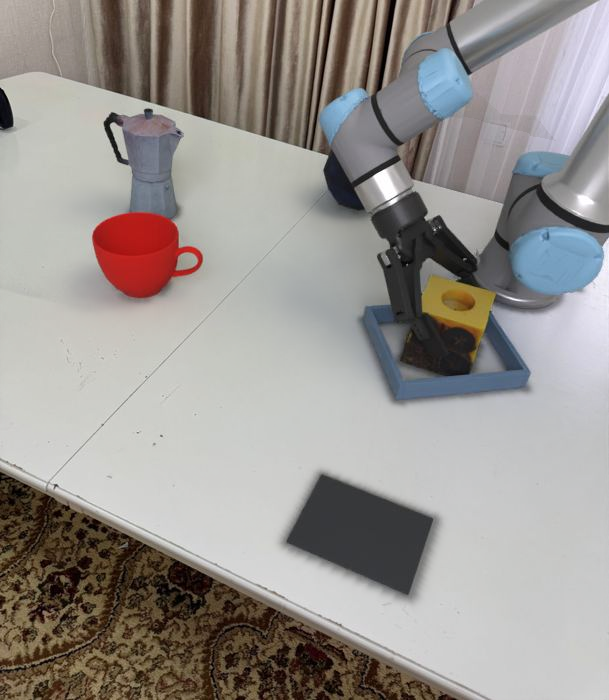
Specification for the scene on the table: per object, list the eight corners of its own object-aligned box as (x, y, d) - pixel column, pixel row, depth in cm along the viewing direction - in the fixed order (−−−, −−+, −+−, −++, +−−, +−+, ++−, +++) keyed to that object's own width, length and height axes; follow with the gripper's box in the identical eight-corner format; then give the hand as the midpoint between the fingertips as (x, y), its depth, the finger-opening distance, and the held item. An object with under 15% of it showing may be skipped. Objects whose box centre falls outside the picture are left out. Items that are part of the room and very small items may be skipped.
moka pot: (181, 230, 115) (173, 124, 102) (103, 217, 117) (85, 111, 104) (198, 206, 122) (192, 104, 109) (124, 194, 124) (109, 92, 111)
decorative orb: (319, 156, 131) (327, 116, 116) (389, 159, 132) (406, 120, 117) (319, 219, 128) (326, 187, 114) (390, 222, 129) (407, 190, 115)
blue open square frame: (476, 312, 102) (481, 297, 100) (525, 387, 90) (531, 372, 88) (362, 320, 99) (365, 305, 97) (396, 400, 86) (399, 385, 84)
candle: (399, 362, 92) (411, 309, 85) (416, 324, 99) (428, 272, 92) (467, 384, 89) (485, 331, 83) (479, 343, 97) (497, 291, 90)
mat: (286, 542, 68) (287, 540, 68) (321, 476, 75) (321, 474, 75) (408, 595, 65) (408, 593, 65) (432, 520, 72) (433, 518, 72)
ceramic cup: (191, 320, 96) (188, 266, 89) (87, 303, 97) (76, 248, 91) (215, 274, 106) (213, 222, 99) (120, 258, 107) (112, 206, 100)
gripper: (418, 185, 97) (480, 305, 100) (321, 244, 82) (398, 382, 85) (455, 164, 91) (521, 292, 94) (358, 223, 76) (440, 372, 80)
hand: (463, 335), depth 90 cm, fingers closed on candle, 12 cm apart
